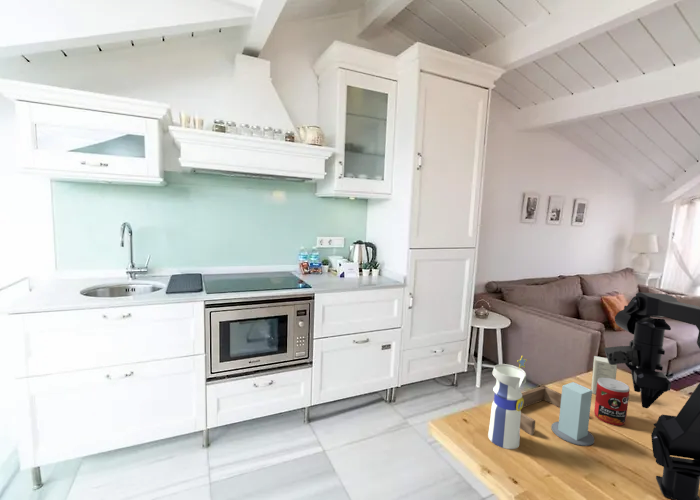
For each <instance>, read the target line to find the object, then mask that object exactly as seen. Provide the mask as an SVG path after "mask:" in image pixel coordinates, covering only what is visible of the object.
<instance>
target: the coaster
mask: <svg viewBox="0 0 700 500" xmlns="http://www.w3.org/2000/svg"><path fill="white" fill-rule="evenodd" d="M558 425H559V421H555V422H553V423H551V426H550V427H551V431H552V432H553V433H554V435H555V436H557V437H558V438H559V439H561V440H563V441H565V442H567V443H569V444H572V445H576V446H582V447H589V446H591V445H594V444H595V437H594V435H593V434H592V433H591V432H590V431H589V430H588V434H587V436H585V437H583V438H581V439H579V440H575V439H573V438H572V437H570V436H568V435H566V434H565V433H563V432H561V431H559V430H558Z"/></svg>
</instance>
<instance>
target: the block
mask: <svg viewBox="0 0 700 500" xmlns="http://www.w3.org/2000/svg"><path fill="white" fill-rule="evenodd" d="M561 387H562V388H561V394H562V395H561V405H560V408H559V417H558V422H559V425H558V430H559V431H561V432H563V433H565V434H566V435H568V436H570V437H572V438H573V439H575V440H579V439H581V438H583V437H585V436H587V434H588V431H589V425H590V415H591V405H592V399H593V398H592V396H593V393H592V390H591V389H590V388H588V387H586V386H584V385H581V384H578V383H577V382H574V381H572V382H569V383H566V384H563V385H562V386H561Z"/></svg>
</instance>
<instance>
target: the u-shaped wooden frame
mask: <svg viewBox="0 0 700 500" xmlns="http://www.w3.org/2000/svg"><path fill="white" fill-rule="evenodd" d="M521 393H522V398H523V400H524V403H523V407H522V409H523V408H525V407H528V406H531V405H533V404H536V403H538V402H542V401H546V402H547V403H549V404H552V405H554V406H556V408H557V407H558V408H559V409H560V405H561V395H562V393H560V392H559V391H557V390H554V389H552V388H549V387H548V386H545V385H541V386H539V387H535V388H533V389H530V390H527V391H524V392H521ZM535 427H536V419H534V418H532V417H530V416H528V415H527V414H526V413H523V412H522V411H521V420H520V430H522V431H523V432H525V433H527V434H529V435H530V436H533V435H535Z"/></svg>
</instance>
